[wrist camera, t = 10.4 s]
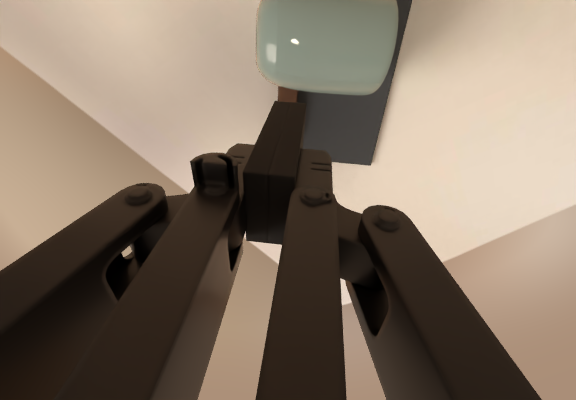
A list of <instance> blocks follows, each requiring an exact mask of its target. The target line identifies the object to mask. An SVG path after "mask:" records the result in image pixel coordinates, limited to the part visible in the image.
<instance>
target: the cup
mask: <svg viewBox="0 0 576 400" xmlns="http://www.w3.org/2000/svg"><path fill="white" fill-rule="evenodd" d="M397 31H398V6H397V1H396V0H261V1H260V3H259V6H258V10H257V20H256V64H257V67H258V70H259V72H260V73H261V75H262V76H263V77H264V78H265V79H266V80H268V81H269V82H271V83H272V84H275V85H277V86H280V87H283V88H287V89H291V90H296V91H303V92H311V93H321V94H334V95H350V96H365V95H370V94H372V93H374V92H375V91H376V90H377V89H378V88H379V87H380V86H381V84H382V83H383V81H384V79H385V77H386V75H387V72H388V70H389V67H390V64H391V61H392V57H393V54H394V49H395V44H396V38H397Z"/></svg>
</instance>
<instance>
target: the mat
mask: <svg viewBox="0 0 576 400" xmlns="http://www.w3.org/2000/svg"><path fill="white" fill-rule="evenodd" d="M396 1H397V6H398V31H397V38H396V44H395V49H394V54H393V57H392V61H391V64H390V67H389V70H388V72H387V75H386V77H385V79H384V81H383V83H382V84H381V86H380V87H379V88H378V89H377V90H376V91H375V92H374V93H372V94H370V95H365V96H350V95H334V94H321V93H311V92H303V91H298V100H297V103H307V105H306V117H305V128H304V140H303V148H304V149H315V150H326V151H327V153H328V154H329V155H330V156H331V162H339V163H350V164H360V165H371V162H372V158H373V154H374V150H375V146H376V142H377V138H378V134H379V130H380V126H381V122H382V118H383V114H384V110H385V106H386V103H387V99H388V95H389V91H390V87H391V83H392V79H393V75H394V71H395V67H396V63H397V59H398V55H399V51H400V47H401V43H402V39H403V35H404V31H405V27H406V23H407V19H408V15H409V11H410V7H411V3H412V0H396Z"/></svg>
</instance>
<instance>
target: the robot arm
mask: <svg viewBox="0 0 576 400" xmlns="http://www.w3.org/2000/svg"><path fill="white" fill-rule="evenodd" d="M306 105H307V103H295V102H282V101H275V102H274V104H273V106H272V108H271V111H270V113H269V115H268V117H267V120H266V122H265V124H264V126H263V128H262V131H261V133H260V135H259V137H258V139H257V142H256V144H255V145H249V144H236V145H234V146H233V147H231V148H230V149H229V150H228V152H227V153H226V154H224V153H207V154H202V155H200V156H197V157H195V158H194V159H193V160H191V161H190V163H191V169H192V174H193V180H194V185H195V186H194V188H193V189H192V191H191V192H190V194H184V195H175V196H166V195H165V191H164V189H163V188H162V187H161V186H159V185H157V184H151V183H143V184H142V183H140V184H136V185H132V186H129V187H127V188H125V189H123V190H121V191H119V192H118V193H116V194H115V195H113V196H112V197H111V198H109V199H107V200H106V201H104V202H103V203H101V204H100V205H98V206H97V207H95V208H94V209H92V210H91V211H89V212H88V213H86V214H85V215H83V216H82V217H80V218H79V219H77V220H76V221H74V222H73V223H72V224H70V225H69V226H67V227H66V228H64V229H63V230H61V231H60V232H58V233H56V234H55V235H53V236H52V237H50V238H49V239H47V240H46V241H44V242H43V243H41V244H40V245H38V246H37V247H36V248H34V249H33V250H31V251H30V252H28V253H27V254H25V255H24V256H22V257H21V258H19V259H18V260H16V261H15V262H13V263H12V264H10V265H9V266H7V267H6V268H4V269H3V270H1V271H0V400H197V399H198V396H199V392H200V389H201V386H202V383H203V380H204V376H205V373H206V370H207V367H208V364H209V360H210V357H211V353H212V351H213V347H214V344H215V341H216V337H217V334H218V331H219V328H220V325H221V321H222V318H223V315H224V312H225V308H226V305H227V302H228V299H229V295H230V292H231V289H232V286H233V282H234V279H235V276H236V273H237V270H238V267H239V263H240V260H241V257H242V253H243V237H244V234H245V231H246V240H247V241H254V242H263V243H272V244H281V245H282V249H281V254H280V260H279V266H278V272H277V278H276V284H275V289H274V295H273V301H272V307H271V313H270V319H269V324H268V330H267V337H266V342H265V348H264V354H263V360H262V365H261V371H260V377H259V383H258V389H257V395H256V400H346V382H345V362H344V344H343V323H342V303H341V283H340V278H342V279H344V280H345V281H346V286H347V289H348V292H349V295H350V298H351V300H352V303H353V306H354V309H355V312H356V314H357V317H358V320H359V323H360V326H361V329H362V332H363V334H364V337H365V340H366V343H367V346H368V349H369V351H370V354H371V357H372V360H373V363H374V365H375V368H376V371H377V374H378V377H379V380H380V383H381V385H382V388H383V391H384V394H385V397H386V400H541V398H540V397H539V395H538V394H537V393H536V391H535V390H534V389H533V387H532V386H531V384H530V383H529V382H528V380H527V379H526V378H525V376H524V375H523V373H522V372H521V371H520V369H519V368H518V367H517V365H516V364H515V363H514V361H513V360H512V358H511V357H510V356H509V354H508V353H507V351H506V350H505V349H504V347H503V346H502V345H501V343H500V342H499V340H498V339H497V338H496V336H495V335H494V334H493V332H492V331H491V329H490V328H489V327H488V325H487V324H486V323H485V321H484V320H483V318H482V317H481V316H480V315H479V313H478V312H477V310H476V309H475V307H474V306H473V305H472V303H471V302H470V301H469V299H468V298H467V296H466V295H465V294H464V292H463V291H462V290H461V288H460V287H459V285H458V284H457V283H456V281H455V280H454V279H453V277H452V276H451V274H450V273H449V272H448V270H447V269H446V268H445V266H444V265H443V263H442V262H441V261H440V259H439V258H438V257H437V255H436V254H435V253H434V251H433V250H432V248H431V247H430V246H429V244H428V243H427V242H426V240H425V239H424V237H423V236H422V235H421V233H420V232H419V231H418V229H417V228H416V226H415V225H414V224H413V222H412V221H411V220H410V218H409V217H408V216H406V215H405V214H404V213H403V212H401V211H399V210H397V209H396V208H392V207H389V206H383V205H375V206H370V207H368V208H367V209H365V210H364V211H363V213H362V214H360V213H357V212H354V211H351V210H349V209H346V208H345V207H343V206H341V205H340V204H339V203H338V202H337V201H336V198H335V195H334V194H333V187H332V166H331V165H332V162H331V156H330V155H329V154H328V153H327V151H326V150H315V149H304V148H303V140H304V128H305V117H306ZM129 245H130V247H131V249H132V252H131V253H130V254H129V255H127V256H126V257H123V255H122V253H121V252H122V251H124V250H125V249H126V248H127V247H128V246H129Z"/></svg>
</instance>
